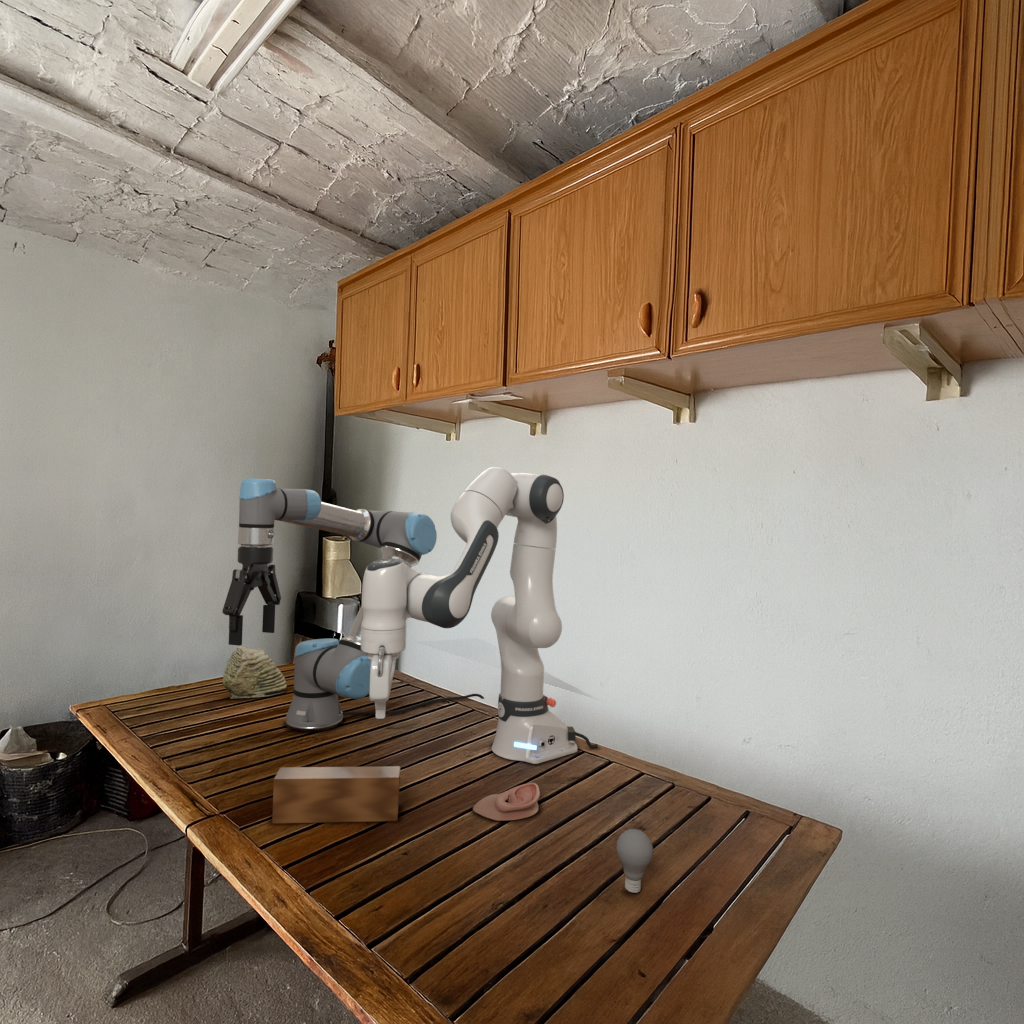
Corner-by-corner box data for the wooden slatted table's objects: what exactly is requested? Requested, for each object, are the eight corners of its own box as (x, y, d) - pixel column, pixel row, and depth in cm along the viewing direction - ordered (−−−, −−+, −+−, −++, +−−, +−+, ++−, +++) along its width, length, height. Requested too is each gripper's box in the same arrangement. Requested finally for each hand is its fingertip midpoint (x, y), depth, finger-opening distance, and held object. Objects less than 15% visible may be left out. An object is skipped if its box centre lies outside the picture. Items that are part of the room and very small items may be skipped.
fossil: (218, 695, 195) (220, 647, 195) (278, 685, 208) (279, 640, 207) (228, 703, 189) (230, 653, 188) (289, 692, 201) (290, 645, 201)
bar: (272, 823, 122) (273, 778, 122) (278, 810, 127) (280, 767, 127) (397, 821, 125) (399, 777, 125) (398, 808, 130) (400, 766, 130)
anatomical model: (469, 797, 128) (483, 773, 139) (468, 816, 128) (482, 791, 139) (534, 806, 125) (543, 781, 136) (533, 826, 125) (542, 799, 136)
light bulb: (610, 879, 108) (613, 822, 108) (644, 879, 109) (647, 822, 109) (619, 902, 102) (622, 840, 102) (655, 901, 103) (658, 840, 103)
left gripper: (239, 550, 132) (235, 652, 132) (297, 543, 157) (294, 628, 157) (206, 548, 133) (203, 649, 133) (269, 541, 158) (266, 626, 158)
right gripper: (397, 653, 117) (395, 727, 117) (401, 629, 137) (400, 693, 137) (362, 654, 116) (360, 728, 116) (371, 629, 136) (370, 693, 136)
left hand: (252, 638), depth 145 cm, fingers open, 13 cm apart
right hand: (382, 709), depth 127 cm, fingers open, 8 cm apart
